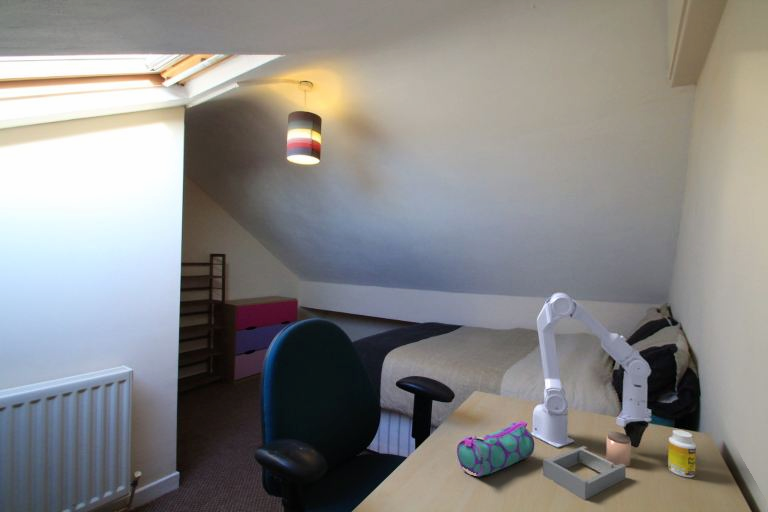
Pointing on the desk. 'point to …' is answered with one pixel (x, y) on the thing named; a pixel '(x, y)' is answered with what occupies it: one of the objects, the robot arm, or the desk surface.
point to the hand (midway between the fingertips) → (633, 445)
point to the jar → (618, 448)
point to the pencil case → (495, 449)
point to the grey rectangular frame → (576, 484)
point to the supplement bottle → (682, 454)
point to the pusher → (594, 461)
